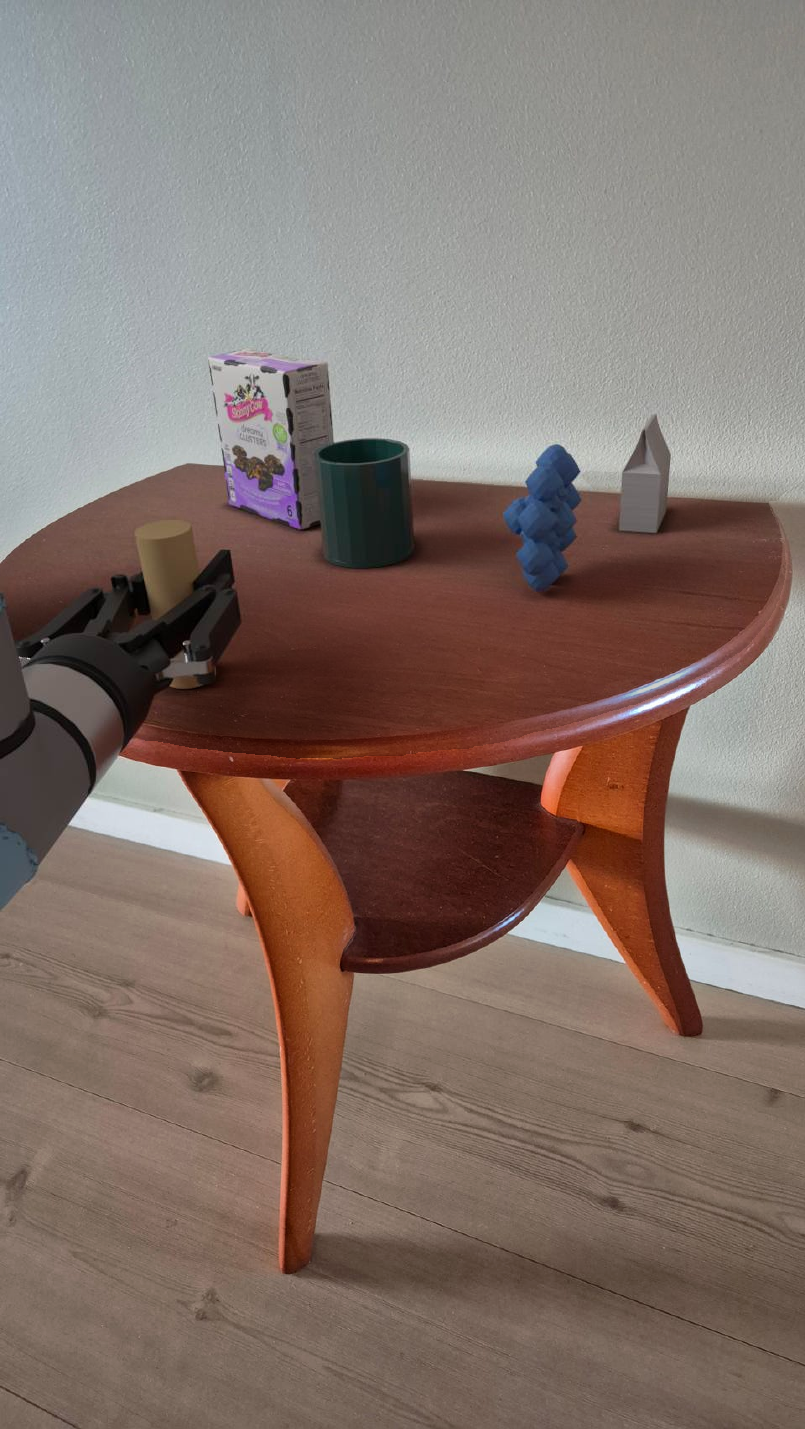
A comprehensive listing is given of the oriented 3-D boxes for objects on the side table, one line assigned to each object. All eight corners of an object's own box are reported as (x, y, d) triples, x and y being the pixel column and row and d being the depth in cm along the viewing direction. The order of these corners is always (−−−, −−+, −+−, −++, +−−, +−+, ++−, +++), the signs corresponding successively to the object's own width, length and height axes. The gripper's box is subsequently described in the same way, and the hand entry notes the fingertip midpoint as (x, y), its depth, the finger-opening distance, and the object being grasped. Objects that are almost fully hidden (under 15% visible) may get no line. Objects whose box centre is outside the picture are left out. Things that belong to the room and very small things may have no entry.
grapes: (522, 554, 95) (522, 428, 89) (591, 561, 93) (596, 432, 87) (481, 601, 86) (479, 465, 80) (557, 610, 84) (560, 470, 78)
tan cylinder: (156, 688, 75) (125, 538, 69) (175, 664, 79) (147, 519, 73) (206, 689, 75) (180, 538, 69) (223, 665, 78) (199, 519, 72)
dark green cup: (314, 568, 95) (303, 465, 90) (334, 535, 103) (325, 438, 98) (406, 568, 94) (400, 464, 89) (420, 535, 101) (415, 437, 96)
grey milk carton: (666, 511, 103) (674, 414, 98) (656, 533, 98) (664, 431, 93) (630, 508, 105) (636, 412, 100) (618, 530, 99) (624, 430, 94)
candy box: (226, 505, 113) (204, 355, 105) (268, 493, 117) (250, 346, 108) (300, 531, 104) (282, 369, 96) (343, 517, 108) (329, 359, 99)
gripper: (-48, 764, 61) (107, 607, 81) (215, 775, 58) (309, 610, 78) (-85, 656, 57) (87, 519, 77) (195, 663, 55) (299, 519, 75)
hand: (199, 565), depth 78 cm, fingers closed on tan cylinder, 4 cm apart
